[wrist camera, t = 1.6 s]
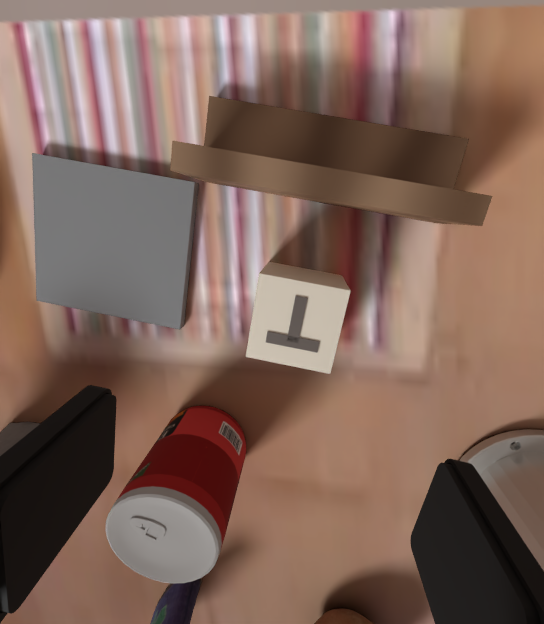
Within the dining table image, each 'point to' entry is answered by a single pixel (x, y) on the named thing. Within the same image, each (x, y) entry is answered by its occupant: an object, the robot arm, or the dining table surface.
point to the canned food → (180, 498)
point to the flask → (177, 603)
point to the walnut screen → (332, 162)
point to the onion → (342, 617)
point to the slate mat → (113, 240)
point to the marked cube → (297, 317)
